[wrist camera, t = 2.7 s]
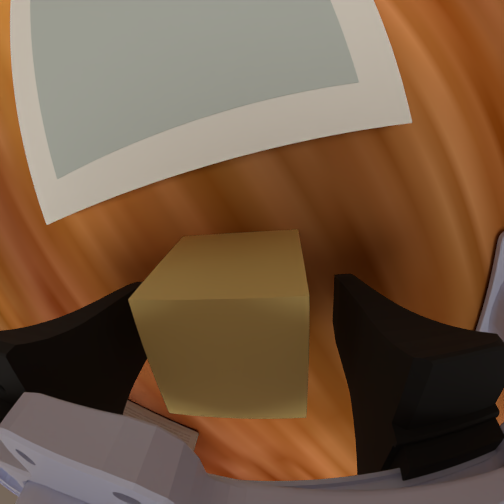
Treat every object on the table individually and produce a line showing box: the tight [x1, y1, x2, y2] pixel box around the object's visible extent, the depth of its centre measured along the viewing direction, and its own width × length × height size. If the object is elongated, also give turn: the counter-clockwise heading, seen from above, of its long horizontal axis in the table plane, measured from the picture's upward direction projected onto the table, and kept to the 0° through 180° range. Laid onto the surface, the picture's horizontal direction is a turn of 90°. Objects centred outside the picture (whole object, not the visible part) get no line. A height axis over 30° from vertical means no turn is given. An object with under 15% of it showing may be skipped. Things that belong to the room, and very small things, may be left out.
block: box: [128, 229, 309, 419], centre depth 10 cm, size 5×5×5 cm
